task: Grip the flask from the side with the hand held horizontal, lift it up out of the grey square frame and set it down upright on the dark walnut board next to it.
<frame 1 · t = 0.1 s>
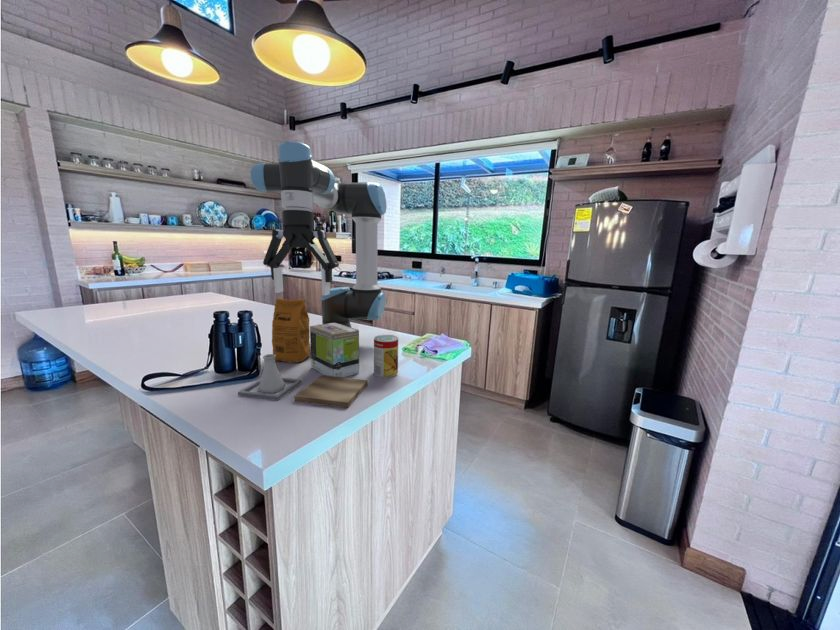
hand: (302, 293, 88), 28 cm above the table, tool pointing down, fingers open, 13 cm apart
walnut board: (333, 392, 93), on the table
grey square frame: (271, 388, 94), on the table
tea box: (334, 371, 110), on the table
coffee package: (291, 358, 120), on the table
canned food: (385, 373, 109), on the table
flask: (271, 389, 95), resting in grey square frame
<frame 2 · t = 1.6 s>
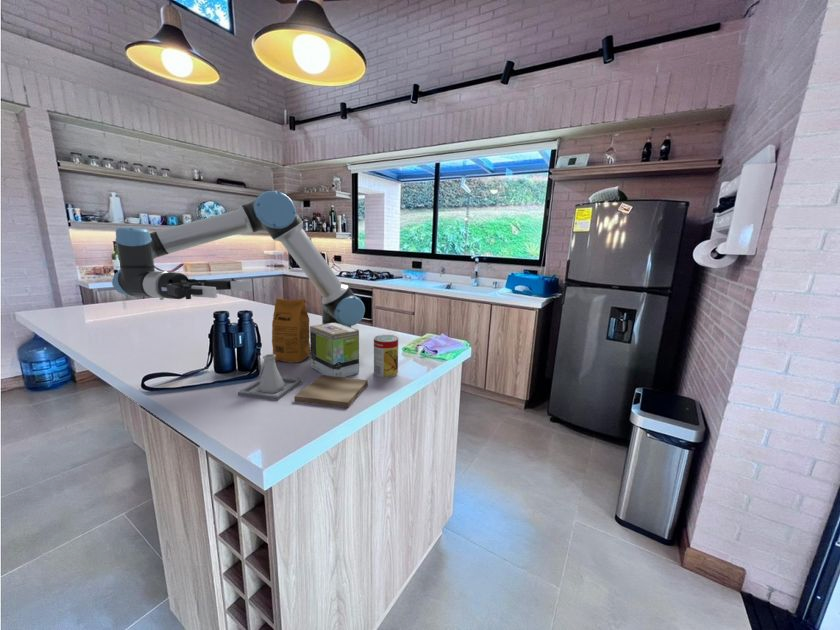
hand: (234, 289, 90), 28 cm above the table, tool horizontal, fingers open, 13 cm apart
nothing on the table moved.
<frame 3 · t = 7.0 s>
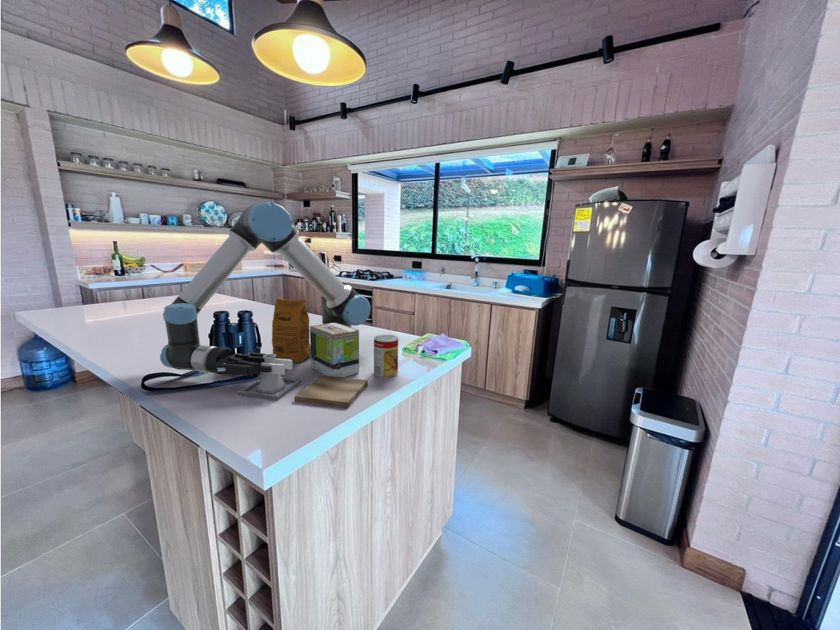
hand: (287, 367, 92), 7 cm above the table, tool horizontal, fingers closed on flask, 3 cm apart
flask: (271, 389, 94), resting in grey square frame, touching gripper
everything else where it was.
when the fingers open (10 cm above the table, at t = 11.8 s): flask drops 1 cm, resting on walnut board.
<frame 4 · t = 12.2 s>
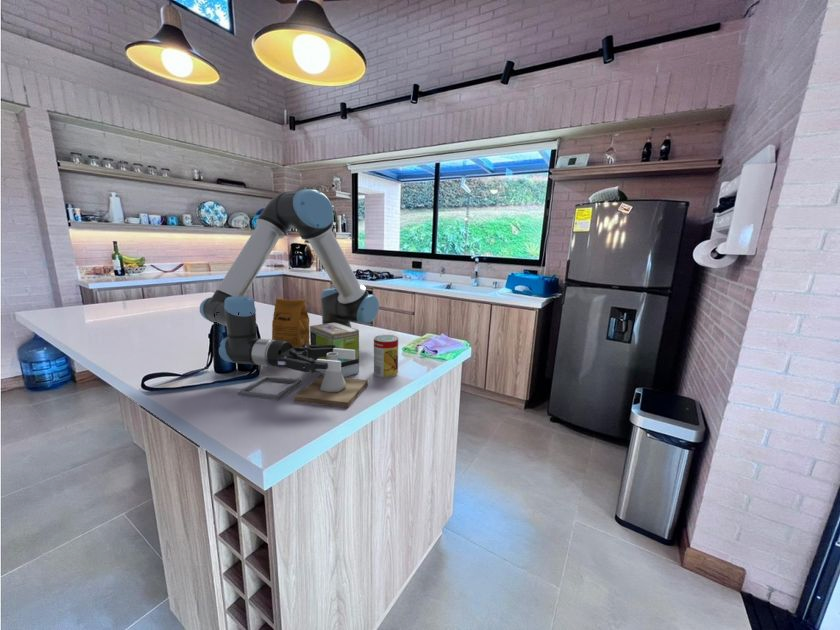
hand: (347, 360, 90), 10 cm above the table, tool horizontal, fingers open, 9 cm apart
tea box: (334, 370, 110), on the table, touching hand
flask: (333, 388, 93), point 1 cm above the table, touching walnut board
everything else where it was.
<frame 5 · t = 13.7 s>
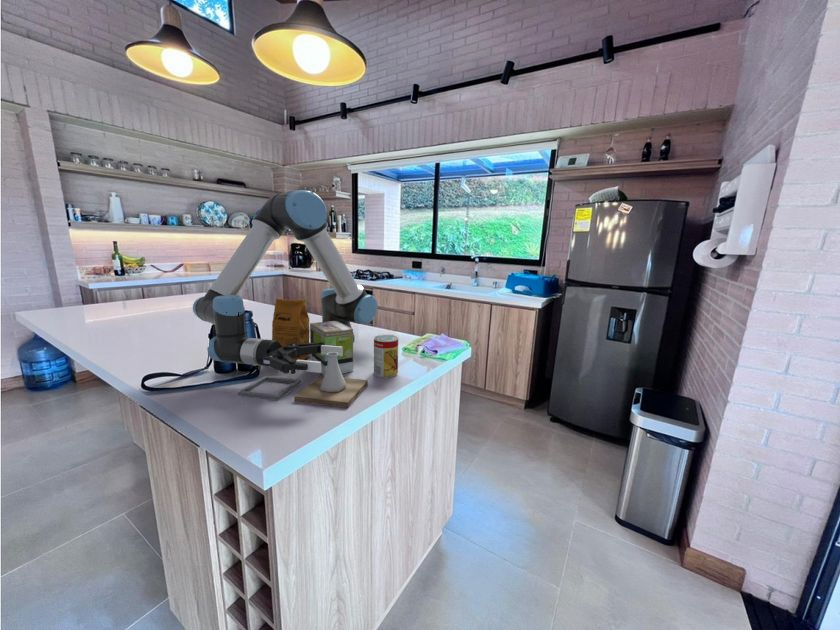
hand: (332, 358, 91), 10 cm above the table, tool horizontal, fingers open, 13 cm apart
tea box: (331, 367, 113), on the table
everything else where it was.
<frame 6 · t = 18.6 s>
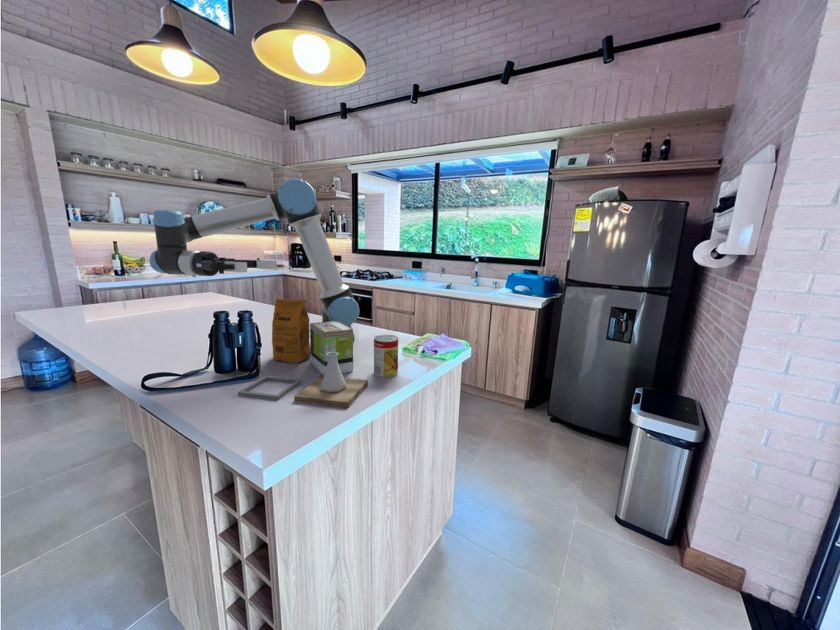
hand: (262, 266, 99), 34 cm above the table, tool horizontal, fingers open, 13 cm apart
nothing on the table moved.
at the end: flask inside the target area on the walnut board (0.0 cm from its centre), point 1.3 cm above the walnut board's base; flask tilted 0°; the gripper is holding nothing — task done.
